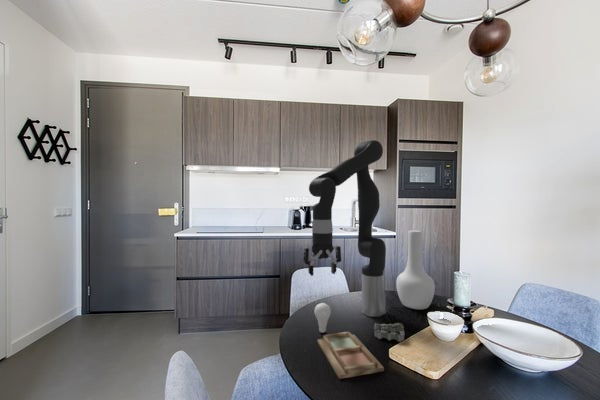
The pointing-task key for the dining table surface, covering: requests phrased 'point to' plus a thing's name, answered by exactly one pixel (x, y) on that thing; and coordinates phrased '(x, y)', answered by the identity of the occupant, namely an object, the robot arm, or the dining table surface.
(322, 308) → the lightbulb
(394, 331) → the egg carton
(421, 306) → the vase
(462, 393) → the dining table surface
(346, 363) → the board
